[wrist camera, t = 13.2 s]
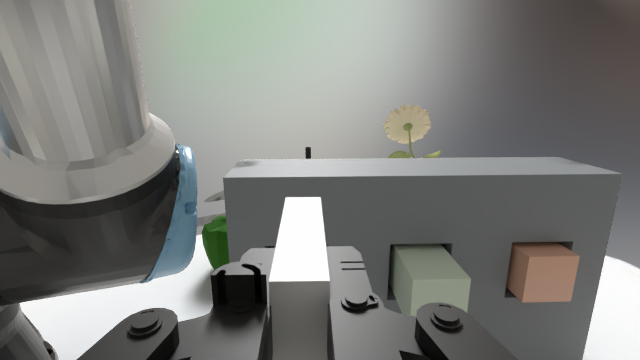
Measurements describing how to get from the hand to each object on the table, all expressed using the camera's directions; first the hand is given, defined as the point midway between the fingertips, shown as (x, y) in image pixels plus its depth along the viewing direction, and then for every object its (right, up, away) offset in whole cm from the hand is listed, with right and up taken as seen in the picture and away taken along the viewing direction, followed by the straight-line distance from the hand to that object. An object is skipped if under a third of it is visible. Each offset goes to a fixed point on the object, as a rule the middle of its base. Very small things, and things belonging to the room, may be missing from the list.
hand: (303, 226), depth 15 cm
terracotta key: (+21, -8, +19) cm, 29 cm away
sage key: (+10, -9, +15) cm, 20 cm away
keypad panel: (+10, -16, +23) cm, 29 cm away
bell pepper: (-13, -12, +40) cm, 43 cm away
